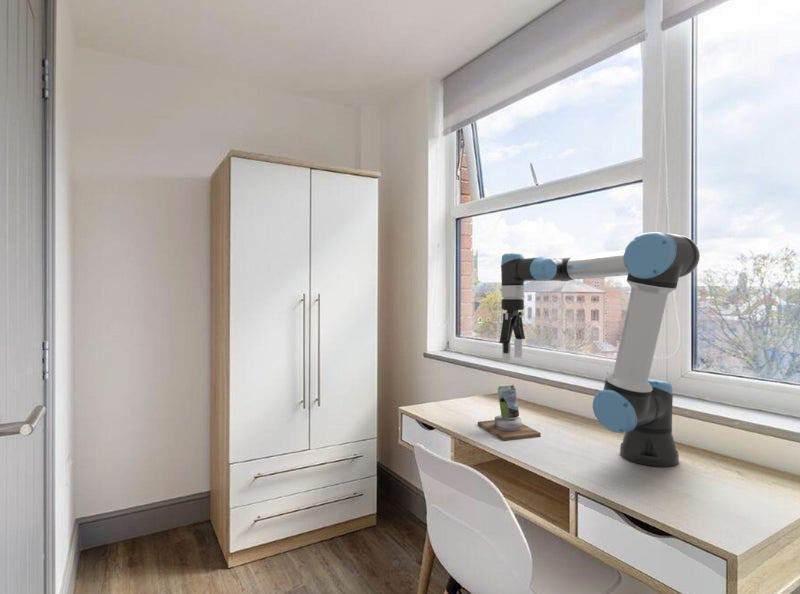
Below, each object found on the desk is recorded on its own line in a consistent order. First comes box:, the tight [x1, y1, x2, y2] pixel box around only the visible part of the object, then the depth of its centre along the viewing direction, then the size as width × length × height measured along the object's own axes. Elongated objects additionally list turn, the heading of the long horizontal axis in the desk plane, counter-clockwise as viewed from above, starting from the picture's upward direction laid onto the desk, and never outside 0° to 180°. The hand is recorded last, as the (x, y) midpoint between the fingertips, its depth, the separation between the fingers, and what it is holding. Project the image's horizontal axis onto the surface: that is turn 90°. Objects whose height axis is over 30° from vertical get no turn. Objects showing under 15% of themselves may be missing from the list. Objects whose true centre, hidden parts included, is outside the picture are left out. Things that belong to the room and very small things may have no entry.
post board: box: [477, 414, 542, 442], centre depth 163 cm, size 18×14×4 cm
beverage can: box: [497, 383, 520, 419], centre depth 163 cm, size 6×7×12 cm
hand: (512, 360), depth 162 cm, fingers open, 13 cm apart
